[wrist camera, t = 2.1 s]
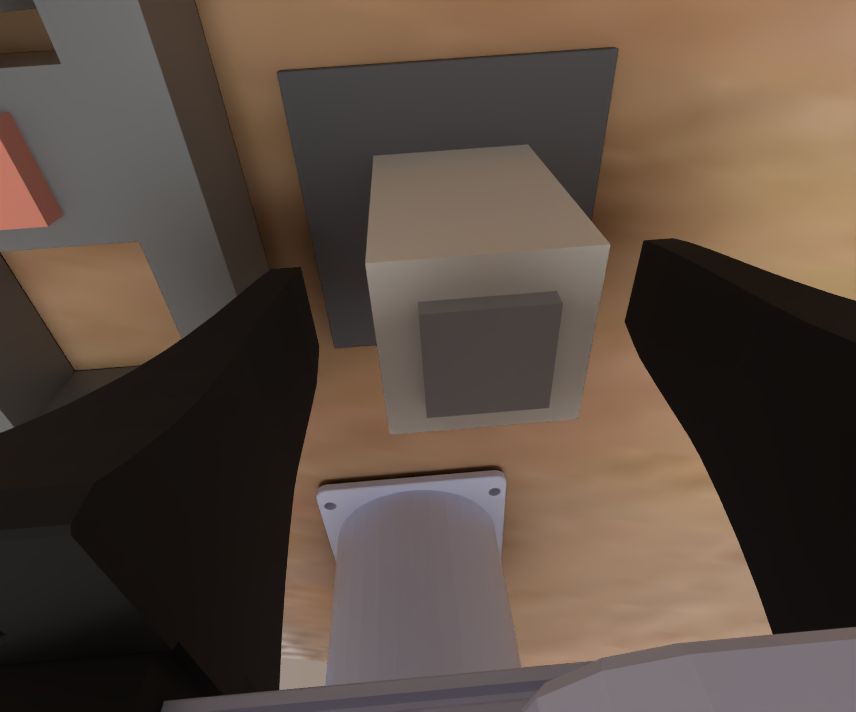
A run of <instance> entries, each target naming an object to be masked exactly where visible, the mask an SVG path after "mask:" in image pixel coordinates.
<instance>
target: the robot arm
mask: <svg viewBox="0 0 856 712" xmlns="http://www.w3.org/2000/svg"><path fill="white" fill-rule="evenodd" d="M625 324H626V326H627V329H628V331H629V334H630V336H631V339H632V341H633V344H634V346H635V348H636V351H637V353H638V355H639V357H640V359H641V361H642V363H643V364H644V366H645V368H646V369H647V371H648V372H649V374H650V376H651V377H652V379H653V381H654V382H655V384H656V385H657V387H658V389H659V390H660V392H661V393H662V395H663V396H664V398H665V400H666V401H667V403H668V404H669V406H670V408H671V409H672V411H673V412H674V414H675V415H676V417H677V419H678V420H679V422H680V423H681V425H682V426H683V428H684V430H685V431H686V433H687V434H688V436H689V438H690V439H691V441H692V443H693V445H694V446H695V448H696V450H697V452H698V454H699V455H700V457H701V459H702V462H703V464H704V466H705V468H706V470H707V472H708V474H709V476H710V478H711V480H712V483H713V485H714V487H715V489H716V491H717V493H718V495H719V497H720V500H721V502H722V504H723V507H724V509H725V511H726V514H727V516H728V518H729V520H730V523H731V525H732V527H733V530H734V532H735V534H736V537H737V539H738V541H739V544H740V547H741V549H742V552H743V554H744V557H745V559H746V562H747V564H748V567H749V570H750V572H751V575H752V577H753V580H754V582H755V585H756V588H757V590H758V593H759V596H760V598H761V601H762V604H763V607H764V610H765V613H766V616H767V619H768V622H769V625H770V627H771V630H772V633H773V635H763V636H753V637H742V638H731V639H720V640H709V641H699V642H688V643H677V644H672V645H667V646H662V647H657V648H651V649H646V650H641V651H636V652H631V653H626V654H621V655H615V656H610V657H605V658H601V659H599V660H596V661H588V662H578V663H567V664H556V665H545V666H535V667H524V668H521V662H520V657H519V652H518V647H517V642H516V637H515V631H514V626H513V621H512V616H511V611H510V606H509V600H508V595H507V590H506V585H505V580H504V575H503V569H502V564H501V554H502V540H503V525H504V511H505V497H506V478H505V474H504V473H503V472H501V471H498V470H490V471H478V472H467V473H455V474H443V475H432V476H420V477H409V478H397V479H385V480H374V481H362V482H350V483H339V484H327V485H323V486H321V487H319V488H318V490H317V496H316V500H317V503H318V506H319V509H320V512H321V516H322V519H323V522H324V525H325V529H326V532H327V535H328V538H329V541H330V545H331V548H332V551H333V554H334V558H335V561H336V570H335V582H334V593H333V605H332V616H331V628H330V639H329V651H328V662H327V674H326V685H325V686H320V687H308V688H299V689H287V690H279V683H280V660H281V640H282V624H283V609H284V594H285V579H286V568H287V557H288V545H289V534H290V524H291V515H292V505H293V496H294V488H295V482H296V476H297V470H298V466H299V461H300V457H301V452H302V448H303V444H304V439H305V435H306V430H307V426H308V421H309V417H310V412H311V408H312V403H313V399H314V394H315V389H316V384H317V372H318V357H319V343H318V339H317V335H316V330H315V326H314V322H313V318H312V313H311V309H310V305H309V301H308V296H307V292H306V288H305V284H304V279H303V275H302V271H301V267H294V268H281V269H271V270H269V271H268V272H266V273H265V274H263V275H262V276H261V277H260V278H258V279H257V280H256V281H255V282H253V283H252V284H251V285H250V286H249V287H247V288H246V289H245V290H244V291H243V292H241V293H240V294H239V295H238V296H237V297H235V298H234V299H233V300H232V301H231V302H229V303H228V304H227V305H226V306H224V307H223V308H222V309H221V310H220V311H218V312H217V313H216V314H215V315H213V316H212V317H211V318H209V319H208V320H207V321H205V322H204V323H203V324H201V325H200V326H199V327H197V328H196V329H195V330H193V331H192V332H191V333H189V334H188V335H187V336H185V337H184V338H183V339H181V340H180V341H178V342H177V343H176V344H174V345H173V346H171V347H170V348H168V349H167V350H165V351H164V352H162V353H160V354H159V355H157V356H156V357H154V358H152V359H151V360H149V361H147V362H146V363H144V364H142V365H141V366H139V367H138V368H136V369H134V370H133V371H131V372H129V373H127V374H125V375H124V376H122V377H120V378H118V379H116V380H114V381H112V382H110V383H108V384H106V385H104V386H102V387H100V388H98V389H96V390H94V391H93V392H91V393H89V394H87V395H85V396H83V397H81V398H79V399H77V400H75V401H73V402H71V403H69V404H67V405H64V406H62V407H60V408H58V409H56V410H53V411H51V412H49V413H47V414H44V415H42V416H40V417H38V418H35V419H33V420H31V421H28V422H26V423H23V424H21V425H18V426H16V427H14V428H11V429H9V430H6V431H4V432H1V433H0V712H856V301H855V300H851V299H848V298H844V297H841V296H838V295H834V294H831V293H828V292H825V291H822V290H819V289H816V288H813V287H810V286H807V285H804V284H801V283H798V282H795V281H793V280H790V279H787V278H784V277H781V276H779V275H776V274H773V273H771V272H768V271H765V270H762V269H760V268H757V267H755V266H752V265H749V264H747V263H744V262H742V261H739V260H736V259H734V258H731V257H729V256H726V255H723V254H721V253H718V252H715V251H713V250H710V249H707V248H704V247H701V246H699V245H696V244H693V243H689V242H686V241H682V240H678V239H673V238H671V239H658V240H645V241H643V245H642V250H641V254H640V258H639V263H638V267H637V271H636V275H635V280H634V284H633V288H632V293H631V297H630V301H629V306H628V310H627V314H626V318H625Z"/></svg>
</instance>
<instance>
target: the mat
mask: <svg viewBox="0 0 856 712" xmlns="http://www.w3.org/2000/svg"><path fill="white" fill-rule="evenodd" d="M617 56H618V48H615V47H609V48H594V49H580V50H566V51H551V52H537V53H523V54H508V55H494V56H480V57H465V58H451V59H437V60H422V61H408V62H394V63H379V64H365V65H351V66H336V67H322V68H308V69H293V70H279V71H278V72H277V76H278V81H279V85H280V90H281V95H282V100H283V104H284V109H285V114H286V119H287V123H288V128H289V133H290V138H291V143H292V147H293V152H294V157H295V162H296V166H297V171H298V176H299V181H300V185H301V190H302V195H303V200H304V205H305V209H306V214H307V219H308V224H309V228H310V233H311V238H312V243H313V247H314V252H315V257H316V262H317V267H318V271H319V276H320V281H321V286H322V290H323V295H324V300H325V305H326V309H327V314H328V319H329V324H330V328H331V333H332V338H333V343H334V348H346V347H358V346H371V345H377V342H376V335H375V328H374V321H373V314H372V307H371V300H370V294H369V287H368V280H367V273H366V266H365V259H366V246H367V233H368V220H369V207H370V194H371V181H372V168H373V156H376V155H390V154H403V153H417V152H431V151H444V150H458V149H471V148H485V147H499V146H512V145H526V144H528V145H529V146H530V147H531V149H532V150H533V151H534V152H535V154H536V155H537V156H538V157H539V158H540V160H541V161H542V162H543V163H544V164H545V166H546V167H547V168H548V169H549V170H550V172H551V173H552V174H553V175H554V177H555V178H556V179H557V180H558V181H559V183H560V184H561V185H562V186H563V187H564V189H565V190H566V191H567V192H568V193H569V195H570V196H571V197H572V198H573V200H574V201H575V202H576V203H577V204H578V206H579V207H580V208H581V209H582V210H583V212H584V213H585V214H586V215H587V217H588V218H589V219H590V220H591V221H592V216H593V209H594V203H595V196H596V190H597V184H598V177H599V171H600V164H601V158H602V152H603V145H604V139H605V132H606V126H607V120H608V113H609V107H610V101H611V94H612V88H613V81H614V75H615V69H616V62H617Z"/></svg>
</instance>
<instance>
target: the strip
mask: <svg viewBox="0 0 856 712" xmlns="http://www.w3.org/2000/svg"><path fill="white" fill-rule="evenodd" d="M33 8H37V10H38V12H39V15H40V17H41V19H42V22H43V24H44V26H45V28H46V31H47V33H48V35H49V37H50V40H51V42H52V44H53V47H54V49H55V50H51V51H36V52H21V53H7V54H0V252H5V251H18V250H31V249H44V248H57V247H70V246H84V245H97V244H110V243H123V242H136V241H139V242H140V245H141V247H142V249H143V251H144V254H145V256H146V258H147V261H148V263H149V265H150V267H151V270H152V272H153V274H154V277H155V279H156V281H157V283H158V286H159V288H160V290H161V292H162V295H163V297H164V299H165V302H166V304H167V306H168V308H169V311H170V313H171V315H172V317H173V320H174V322H175V324H176V327H177V329H178V331H179V333H180V336H181V338H182V339H183V338H184V337H185V336H187V335H188V334H189V333H191V332H192V331H193V330H195V329H196V328H197V327H199V326H200V325H201V324H203V323H204V322H205V321H207V320H208V319H209V318H211V317H212V316H213V315H215V314H216V313H217V312H218V311H220V310H221V309H222V308H223V307H224V306H226V305H227V304H228V303H229V302H231V301H232V300H233V299H234V298H235V297H237V296H238V295H239V294H240V293H241V292H243V291H244V290H245V289H246V288H247V287H249V286H250V285H251V284H252V283H253V282H255V281H256V280H257V279H258V278H260V277H261V276H262V275H263V274H265V273H266V272H268V271H269V267H268V263H267V260H266V256H265V253H264V249H263V245H262V242H261V238H260V235H259V231H258V227H257V224H256V220H255V217H254V213H253V209H252V206H251V202H250V198H249V195H248V191H247V188H246V184H245V180H244V177H243V173H242V170H241V166H240V162H239V159H238V155H237V152H236V148H235V144H234V141H233V137H232V134H231V130H230V126H229V123H228V119H227V115H226V112H225V108H224V105H223V101H222V97H221V94H220V90H219V87H218V83H217V79H216V76H215V72H214V69H213V65H212V61H211V58H210V54H209V51H208V47H207V43H206V40H205V36H204V32H203V29H202V25H201V22H200V18H199V14H198V11H197V7H196V4H195V0H0V12H3V11H13V10H23V9H33ZM138 367H139V366H135V367H123V368H110V369H98V370H86V371H74V370H73V368H72V367H71V365H70V364H69V362H68V361H67V359H66V357H65V356H64V354H63V353H62V351H61V349H60V348H59V346H58V345H57V343H56V342H55V340H54V338H53V337H52V335H51V334H50V332H49V331H48V329H47V327H46V326H45V324H44V323H43V321H42V320H41V318H40V316H39V315H38V313H37V312H36V310H35V308H34V307H33V305H32V304H31V302H30V301H29V299H28V297H27V296H26V294H25V293H24V291H23V290H22V288H21V286H20V285H19V283H18V282H17V280H16V279H15V277H14V275H13V274H12V272H11V271H10V269H9V268H8V266H7V264H6V263H5V261H4V260H3V258H2V256H1V255H0V433H1V432H4V431H6V430H9V429H11V428H14V427H16V426H18V425H21V424H23V423H26V422H28V421H31V420H33V419H35V418H38V417H40V416H42V415H44V414H47V413H49V412H51V411H53V410H56V409H58V408H60V407H62V406H64V405H67V404H69V403H71V402H73V401H75V400H77V399H79V398H81V397H83V396H85V395H87V394H89V393H91V392H93V391H94V390H96V389H98V388H100V387H102V386H104V385H106V384H108V383H110V382H112V381H114V380H116V379H118V378H120V377H122V376H124V375H125V374H127V373H129V372H131V371H133V370H134V369H136V368H138Z"/></svg>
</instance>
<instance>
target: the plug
mask: <svg viewBox="0 0 856 712" xmlns="http://www.w3.org/2000/svg"><path fill="white" fill-rule="evenodd" d="M609 250H610V243H609V242H608V241H607V240H606V238H605V237H604V236H603V235H602V233H601V232H600V231H599V230H598V229H597V227H596V226H595V225H594V224H593V223H592V221H591V220H590V219H589V218H588V217H587V215H586V214H585V213H584V212H583V210H582V209H581V208H580V207H579V206H578V204H577V203H576V202H575V201H574V200H573V198H572V197H571V196H570V195H569V193H568V192H567V191H566V190H565V189H564V187H563V186H562V185H561V184H560V183H559V181H558V180H557V179H556V178H555V177H554V175H553V174H552V173H551V172H550V170H549V169H548V168H547V167H546V166H545V164H544V163H543V162H542V161H541V160H540V158H539V157H538V156H537V155H536V154H535V152H534V151H533V150H532V149H531V147H530V146H529V145H528V144H526V145H512V146H499V147H485V148H471V149H458V150H444V151H431V152H417V153H403V154H390V155H376V156H373V168H372V181H371V194H370V207H369V220H368V233H367V246H366V259H365V266H366V273H367V280H368V287H369V294H370V300H371V307H372V314H373V321H374V328H375V335H376V342H377V349H378V356H379V363H380V370H381V377H382V384H383V391H384V398H385V405H386V412H387V419H388V426H389V433H390V435H395V434H407V433H418V432H430V431H442V430H454V429H466V428H478V427H490V426H502V425H513V424H525V423H537V422H549V421H561V420H573V419H578V416H579V411H580V405H581V400H582V395H583V389H584V384H585V378H586V373H587V368H588V362H589V357H590V352H591V346H592V341H593V336H594V330H595V325H596V319H597V314H598V309H599V303H600V298H601V293H602V287H603V282H604V277H605V271H606V266H607V260H608V255H609Z"/></svg>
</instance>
